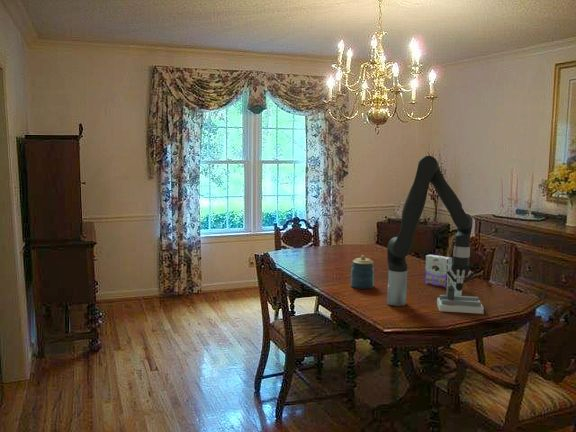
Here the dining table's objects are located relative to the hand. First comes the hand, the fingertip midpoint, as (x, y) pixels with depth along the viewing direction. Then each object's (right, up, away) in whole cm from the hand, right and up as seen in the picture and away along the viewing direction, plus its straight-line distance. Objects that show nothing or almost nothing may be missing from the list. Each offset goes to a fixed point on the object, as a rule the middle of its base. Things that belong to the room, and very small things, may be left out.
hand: (458, 290), depth 254 cm
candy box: (+2, -3, +45) cm, 45 cm away
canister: (-41, -4, +40) cm, 57 cm away
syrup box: (+4, -7, +19) cm, 21 cm away
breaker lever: (-4, -6, +2) cm, 7 cm away
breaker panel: (+1, -9, +2) cm, 9 cm away
